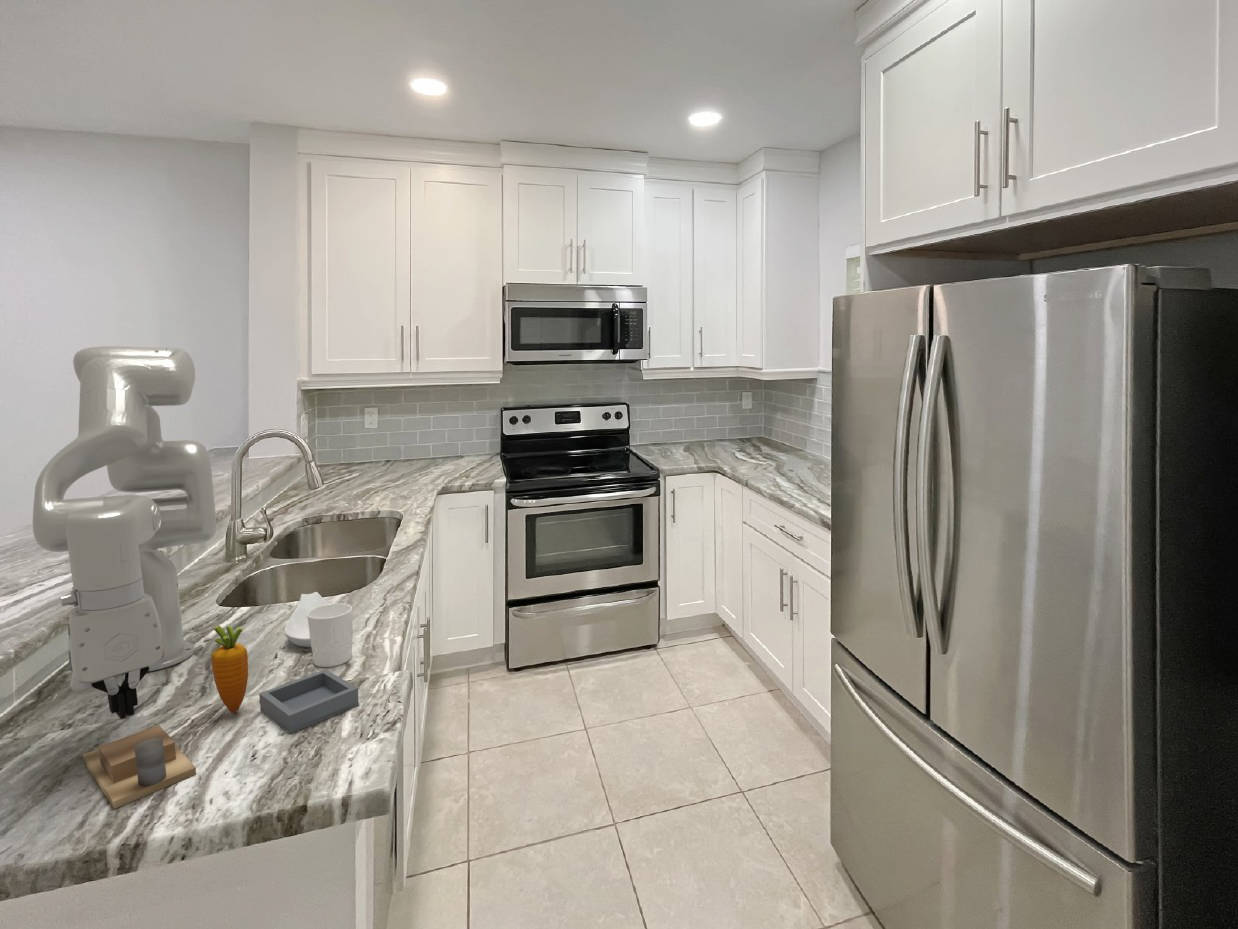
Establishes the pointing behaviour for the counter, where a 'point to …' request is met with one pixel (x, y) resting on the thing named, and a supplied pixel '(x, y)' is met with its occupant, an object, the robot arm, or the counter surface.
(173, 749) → the wooden rectangular block
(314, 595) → the spoon rest
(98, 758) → the board
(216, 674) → the carrot
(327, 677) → the tray
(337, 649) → the white cup
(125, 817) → the counter surface
